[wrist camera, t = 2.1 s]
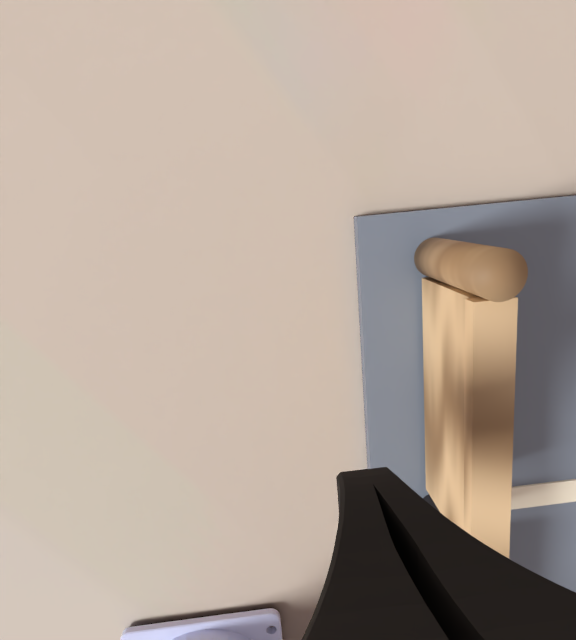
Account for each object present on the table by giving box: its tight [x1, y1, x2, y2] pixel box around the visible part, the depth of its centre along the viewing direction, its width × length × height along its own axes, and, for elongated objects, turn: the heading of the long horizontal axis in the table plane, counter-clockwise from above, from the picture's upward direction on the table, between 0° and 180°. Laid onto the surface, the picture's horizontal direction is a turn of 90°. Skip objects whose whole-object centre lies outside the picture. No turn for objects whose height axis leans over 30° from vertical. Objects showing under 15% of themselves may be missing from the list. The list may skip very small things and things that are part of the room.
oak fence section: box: [414, 237, 528, 559], centre depth 17 cm, size 12×2×5 cm, turn 5°
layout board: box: [354, 195, 576, 592], centre depth 22 cm, size 28×16×1 cm, turn 5°
